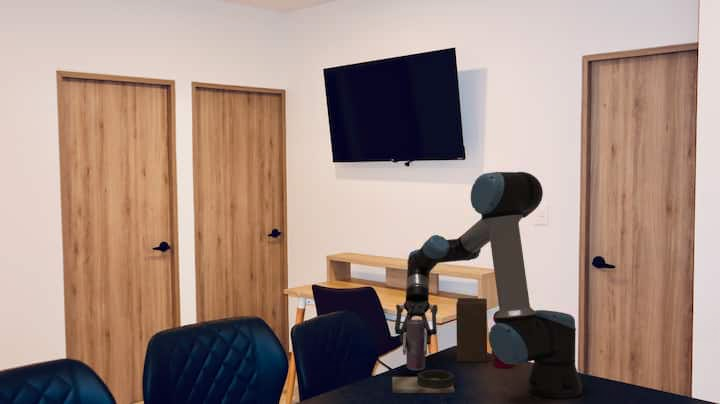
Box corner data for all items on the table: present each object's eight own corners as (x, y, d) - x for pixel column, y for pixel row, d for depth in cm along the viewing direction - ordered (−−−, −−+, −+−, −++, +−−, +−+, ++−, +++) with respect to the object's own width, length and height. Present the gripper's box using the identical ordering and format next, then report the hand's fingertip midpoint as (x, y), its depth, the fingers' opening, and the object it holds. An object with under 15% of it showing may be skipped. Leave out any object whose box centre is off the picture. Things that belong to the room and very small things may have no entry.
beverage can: (428, 366, 214) (427, 320, 214) (420, 371, 209) (419, 323, 209) (412, 364, 217) (411, 318, 217) (403, 369, 212) (402, 321, 212)
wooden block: (486, 362, 227) (486, 303, 226) (456, 361, 229) (456, 303, 228) (487, 354, 237) (486, 298, 236) (458, 353, 239) (457, 297, 238)
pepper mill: (487, 365, 224) (486, 305, 223) (500, 361, 228) (500, 302, 228) (505, 370, 218) (504, 308, 217) (518, 365, 223) (518, 305, 222)
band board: (451, 380, 209) (451, 369, 209) (455, 392, 197) (455, 381, 197) (392, 380, 209) (392, 369, 209) (392, 392, 198) (392, 381, 197)
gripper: (446, 297, 226) (445, 359, 211) (390, 297, 229) (385, 358, 214) (445, 284, 221) (444, 346, 205) (388, 284, 224) (383, 345, 208)
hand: (414, 352), depth 210 cm, fingers closed on beverage can, 6 cm apart
